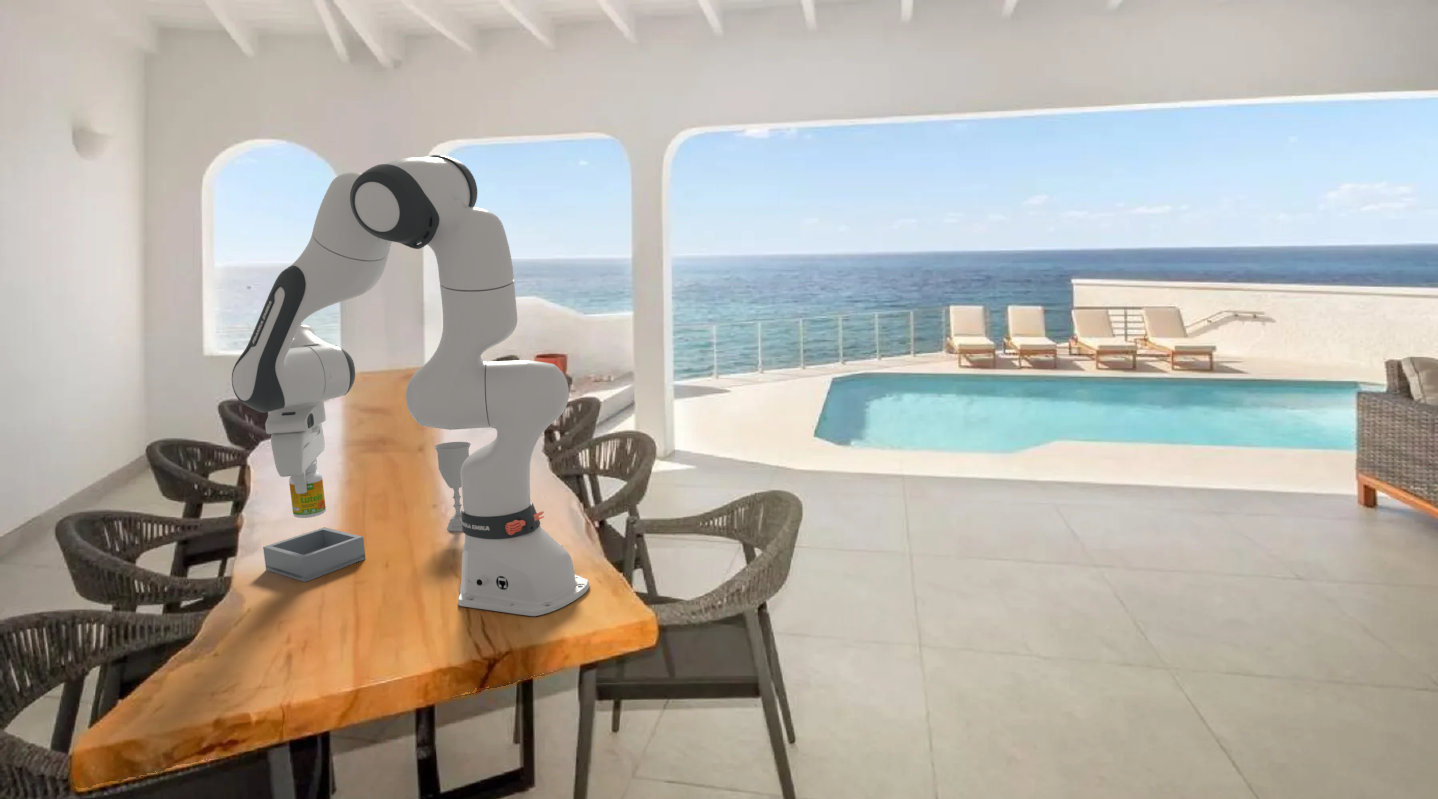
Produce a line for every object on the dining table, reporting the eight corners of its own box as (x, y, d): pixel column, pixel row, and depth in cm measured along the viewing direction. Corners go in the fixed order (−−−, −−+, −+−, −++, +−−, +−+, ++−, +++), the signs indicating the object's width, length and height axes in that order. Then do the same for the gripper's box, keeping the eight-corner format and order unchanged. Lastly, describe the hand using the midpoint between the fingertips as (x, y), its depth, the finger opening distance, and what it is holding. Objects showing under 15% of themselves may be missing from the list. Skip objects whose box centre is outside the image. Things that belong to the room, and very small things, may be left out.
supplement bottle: (301, 520, 135) (294, 468, 134) (288, 514, 139) (281, 464, 137) (331, 512, 140) (325, 462, 138) (318, 507, 143) (312, 457, 141)
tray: (365, 559, 143) (363, 536, 142) (305, 582, 133) (302, 557, 132) (326, 548, 149) (324, 527, 148) (266, 570, 139) (263, 547, 138)
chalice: (436, 532, 157) (428, 449, 154) (448, 522, 164) (441, 441, 161) (470, 532, 157) (463, 449, 154) (481, 521, 163) (475, 441, 160)
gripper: (292, 405, 145) (301, 474, 147) (261, 426, 125) (272, 505, 128) (328, 402, 146) (336, 471, 149) (303, 423, 127) (313, 501, 130)
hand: (306, 487), depth 138 cm, fingers closed on supplement bottle, 5 cm apart
